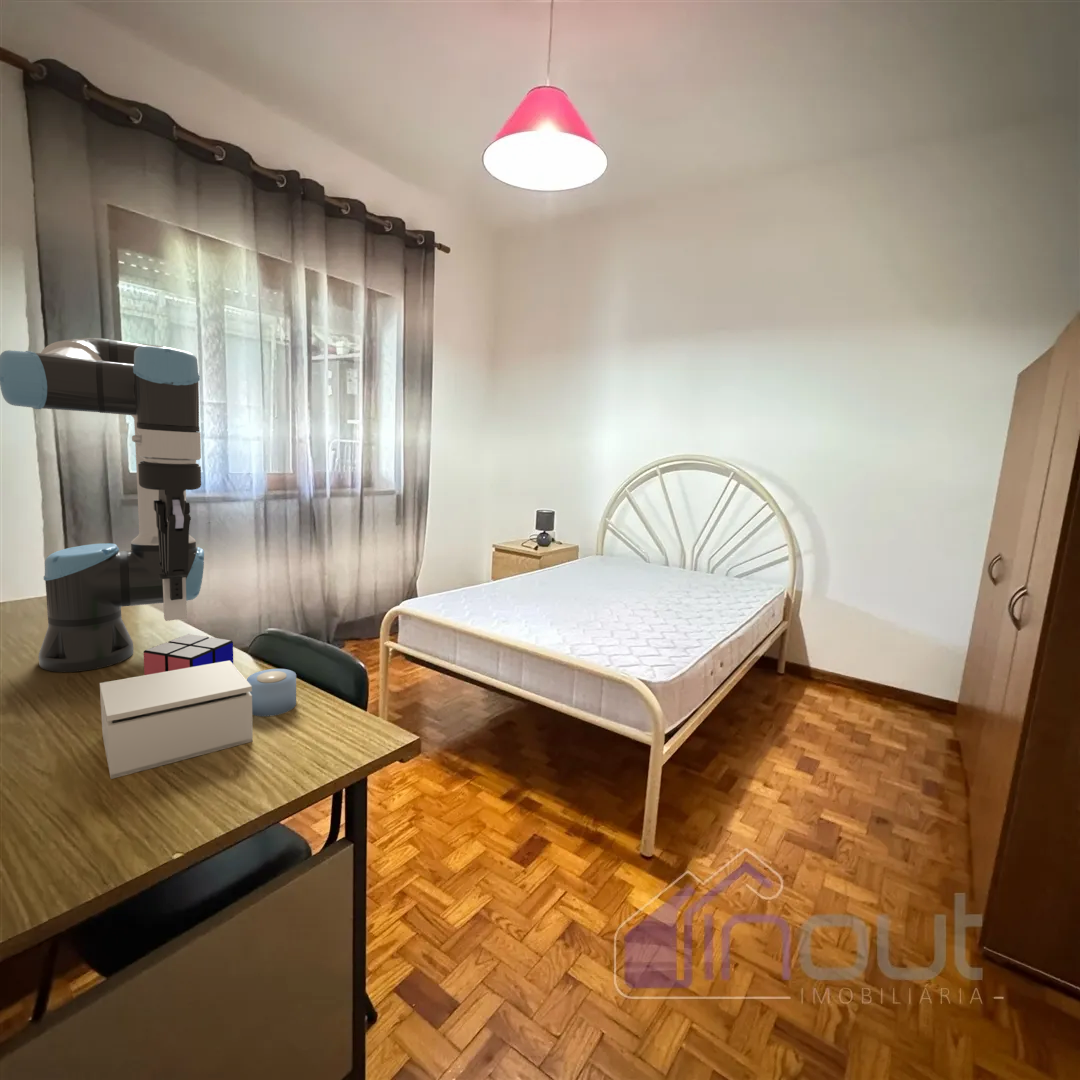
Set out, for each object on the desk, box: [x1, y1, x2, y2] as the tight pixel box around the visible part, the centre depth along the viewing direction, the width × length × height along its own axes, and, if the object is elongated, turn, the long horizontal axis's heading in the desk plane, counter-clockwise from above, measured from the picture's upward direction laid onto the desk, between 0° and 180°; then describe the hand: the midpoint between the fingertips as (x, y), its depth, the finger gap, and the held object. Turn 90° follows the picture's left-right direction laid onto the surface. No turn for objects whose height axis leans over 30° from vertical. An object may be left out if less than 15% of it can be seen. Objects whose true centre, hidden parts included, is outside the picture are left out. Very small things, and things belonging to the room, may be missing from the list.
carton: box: [99, 690, 254, 780], centre depth 88 cm, size 14×18×8 cm
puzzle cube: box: [143, 633, 234, 675], centre depth 102 cm, size 10×10×10 cm
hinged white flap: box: [99, 660, 252, 722], centre depth 87 cm, size 14×18×1 cm
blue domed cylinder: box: [246, 668, 297, 717], centre depth 101 cm, size 8×8×6 cm
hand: (175, 618), depth 84 cm, fingers closed
